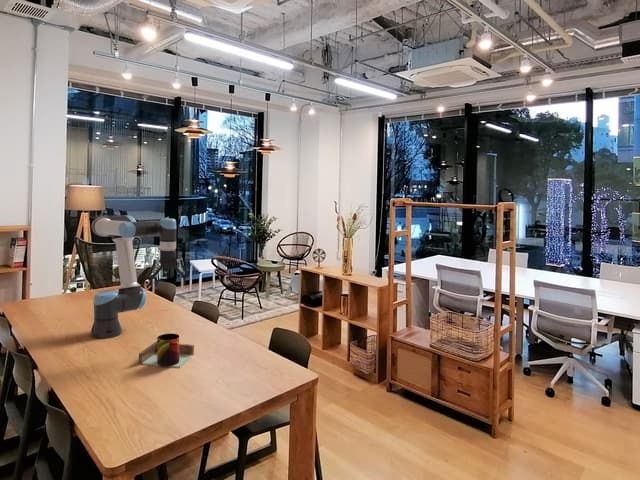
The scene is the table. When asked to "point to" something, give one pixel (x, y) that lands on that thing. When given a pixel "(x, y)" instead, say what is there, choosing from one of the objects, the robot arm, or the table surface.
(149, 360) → the mat
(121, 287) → the robot arm
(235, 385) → the table surface
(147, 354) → the walls
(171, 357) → the mug
